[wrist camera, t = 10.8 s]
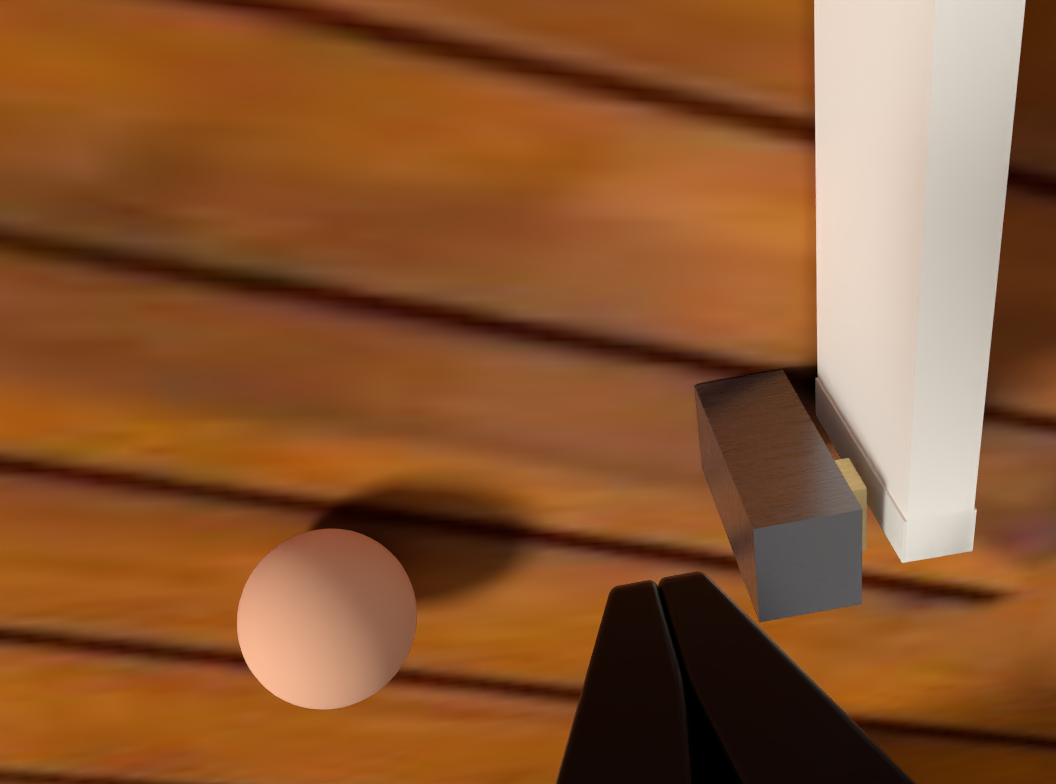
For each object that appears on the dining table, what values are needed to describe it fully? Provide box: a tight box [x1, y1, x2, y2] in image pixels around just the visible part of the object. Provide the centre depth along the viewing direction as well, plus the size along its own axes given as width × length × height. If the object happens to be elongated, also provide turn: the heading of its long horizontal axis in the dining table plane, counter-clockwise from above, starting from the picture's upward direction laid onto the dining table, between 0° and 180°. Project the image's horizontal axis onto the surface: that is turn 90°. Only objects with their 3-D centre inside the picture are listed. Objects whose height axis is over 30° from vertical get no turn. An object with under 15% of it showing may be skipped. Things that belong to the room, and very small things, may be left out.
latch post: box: [694, 369, 867, 622], centre depth 20 cm, size 2×2×5 cm
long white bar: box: [814, 0, 1026, 563], centre depth 17 cm, size 12×1×5 cm, turn 10°
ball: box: [237, 528, 417, 709], centre depth 22 cm, size 4×4×4 cm
